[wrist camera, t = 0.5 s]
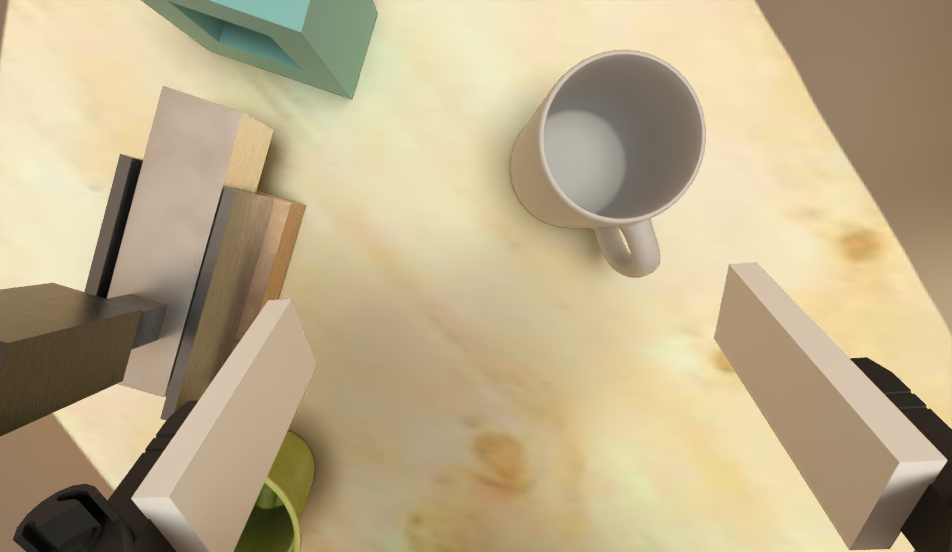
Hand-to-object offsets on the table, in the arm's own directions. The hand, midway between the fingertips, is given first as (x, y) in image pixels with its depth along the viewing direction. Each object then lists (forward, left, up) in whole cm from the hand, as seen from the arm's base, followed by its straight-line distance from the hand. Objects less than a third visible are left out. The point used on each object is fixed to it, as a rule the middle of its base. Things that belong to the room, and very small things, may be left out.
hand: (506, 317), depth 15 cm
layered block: (-6, +17, -20) cm, 26 cm away
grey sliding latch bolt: (-3, +17, -16) cm, 23 cm away
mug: (+8, -5, -20) cm, 22 cm away
